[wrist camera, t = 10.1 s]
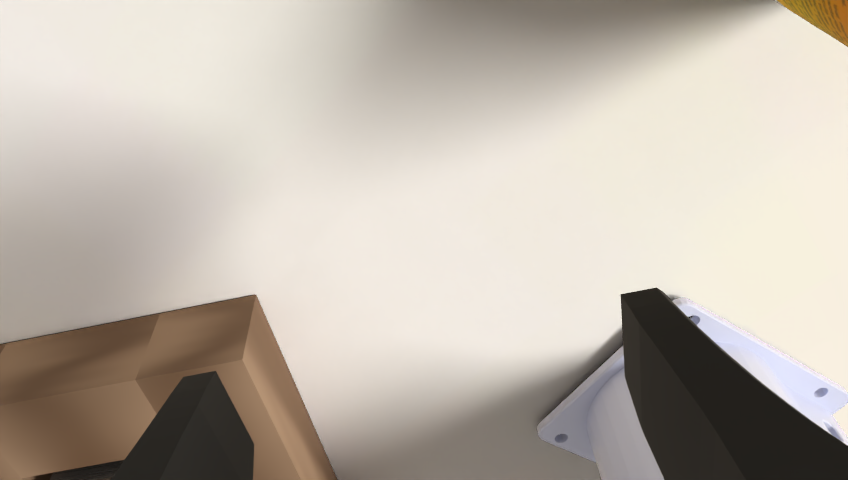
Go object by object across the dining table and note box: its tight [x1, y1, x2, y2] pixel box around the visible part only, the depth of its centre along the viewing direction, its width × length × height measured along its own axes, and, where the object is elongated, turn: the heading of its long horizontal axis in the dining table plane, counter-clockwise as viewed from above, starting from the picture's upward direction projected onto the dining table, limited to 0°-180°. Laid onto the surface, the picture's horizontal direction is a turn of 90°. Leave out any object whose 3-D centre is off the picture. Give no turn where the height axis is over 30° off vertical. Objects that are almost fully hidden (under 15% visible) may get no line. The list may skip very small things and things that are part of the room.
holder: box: [0, 295, 337, 480], centre depth 26 cm, size 12×12×3 cm
